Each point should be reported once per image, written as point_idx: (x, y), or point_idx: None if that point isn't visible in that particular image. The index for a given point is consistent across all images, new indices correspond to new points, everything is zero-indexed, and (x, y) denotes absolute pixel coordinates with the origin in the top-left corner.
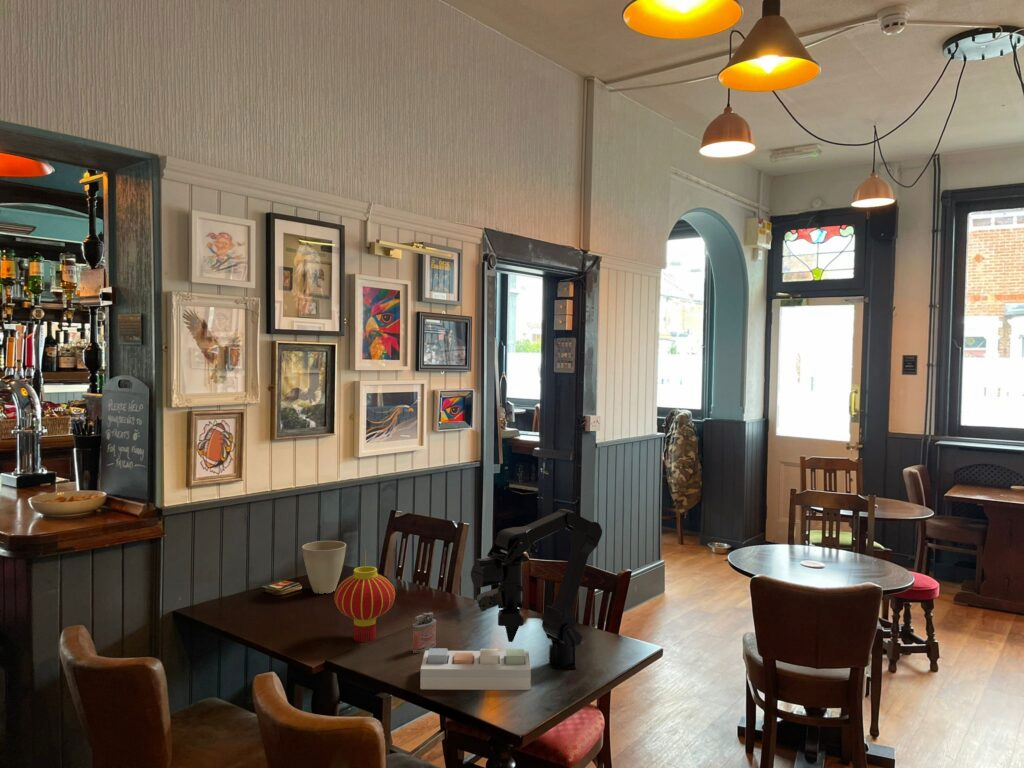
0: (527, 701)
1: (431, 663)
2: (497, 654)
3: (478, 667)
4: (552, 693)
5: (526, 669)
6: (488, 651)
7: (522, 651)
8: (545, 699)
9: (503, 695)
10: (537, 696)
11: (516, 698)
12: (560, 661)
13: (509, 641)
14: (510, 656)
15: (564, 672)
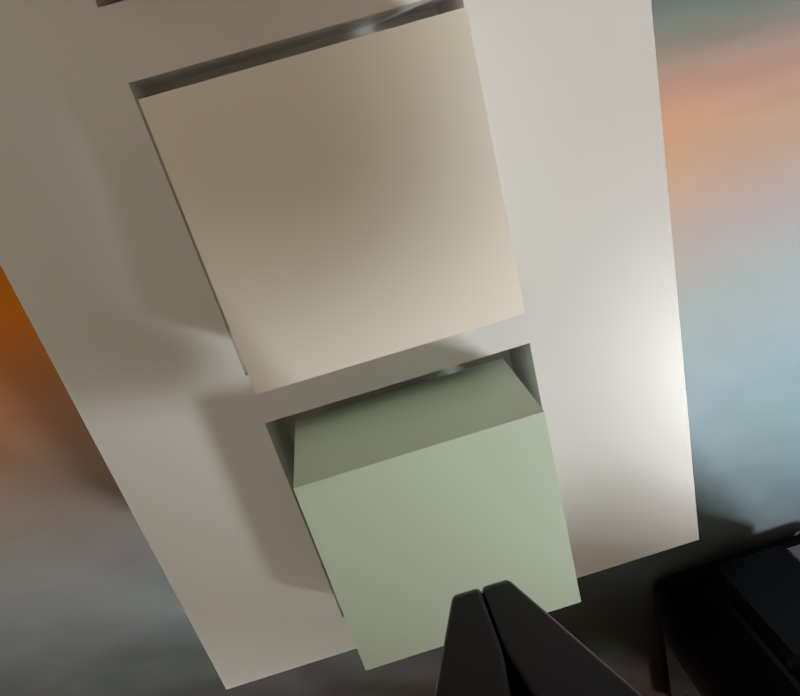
0: (36, 587)
1: None
2: (298, 368)
3: (12, 123)
4: (249, 683)
5: (218, 658)
6: (376, 195)
7: None
8: (133, 674)
9: (50, 397)
10: (157, 619)
11: (47, 505)
12: (698, 659)
13: (456, 610)
14: (314, 532)
15: (609, 654)
